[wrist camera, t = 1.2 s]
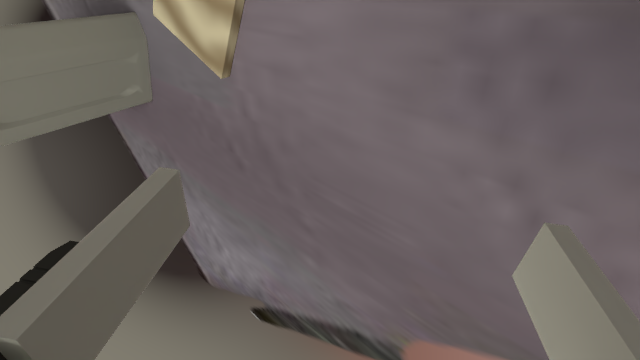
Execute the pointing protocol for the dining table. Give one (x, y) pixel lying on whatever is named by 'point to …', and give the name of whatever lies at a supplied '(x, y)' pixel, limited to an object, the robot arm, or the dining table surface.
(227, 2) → the birch board
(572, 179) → the dining table surface
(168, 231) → the robot arm
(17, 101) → the grey tall prism
